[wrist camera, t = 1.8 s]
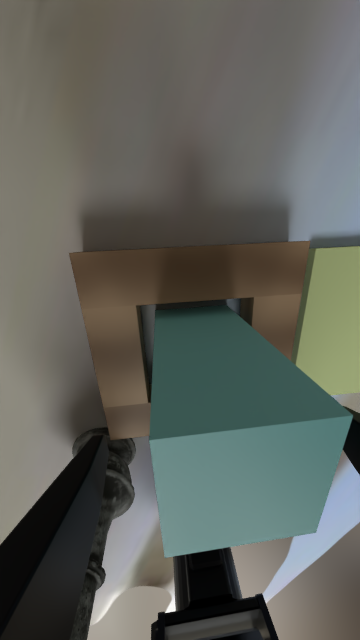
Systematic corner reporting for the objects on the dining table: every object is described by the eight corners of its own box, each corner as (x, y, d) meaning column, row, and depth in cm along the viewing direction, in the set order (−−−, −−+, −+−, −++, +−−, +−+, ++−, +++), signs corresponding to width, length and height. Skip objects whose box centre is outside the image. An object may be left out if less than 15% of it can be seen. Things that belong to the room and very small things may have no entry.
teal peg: (224, 366, 16) (315, 532, 7) (161, 372, 16) (164, 557, 6) (226, 305, 14) (352, 415, 5) (155, 310, 14) (149, 440, 5)
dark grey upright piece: (71, 475, 18) (-63, 830, 7) (66, 425, 17) (-128, 803, 5) (137, 473, 19) (108, 791, 8) (140, 425, 17) (106, 757, 6)
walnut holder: (268, 401, 18) (281, 419, 16) (116, 418, 17) (110, 440, 15) (289, 241, 13) (310, 241, 11) (82, 251, 12) (68, 252, 10)
